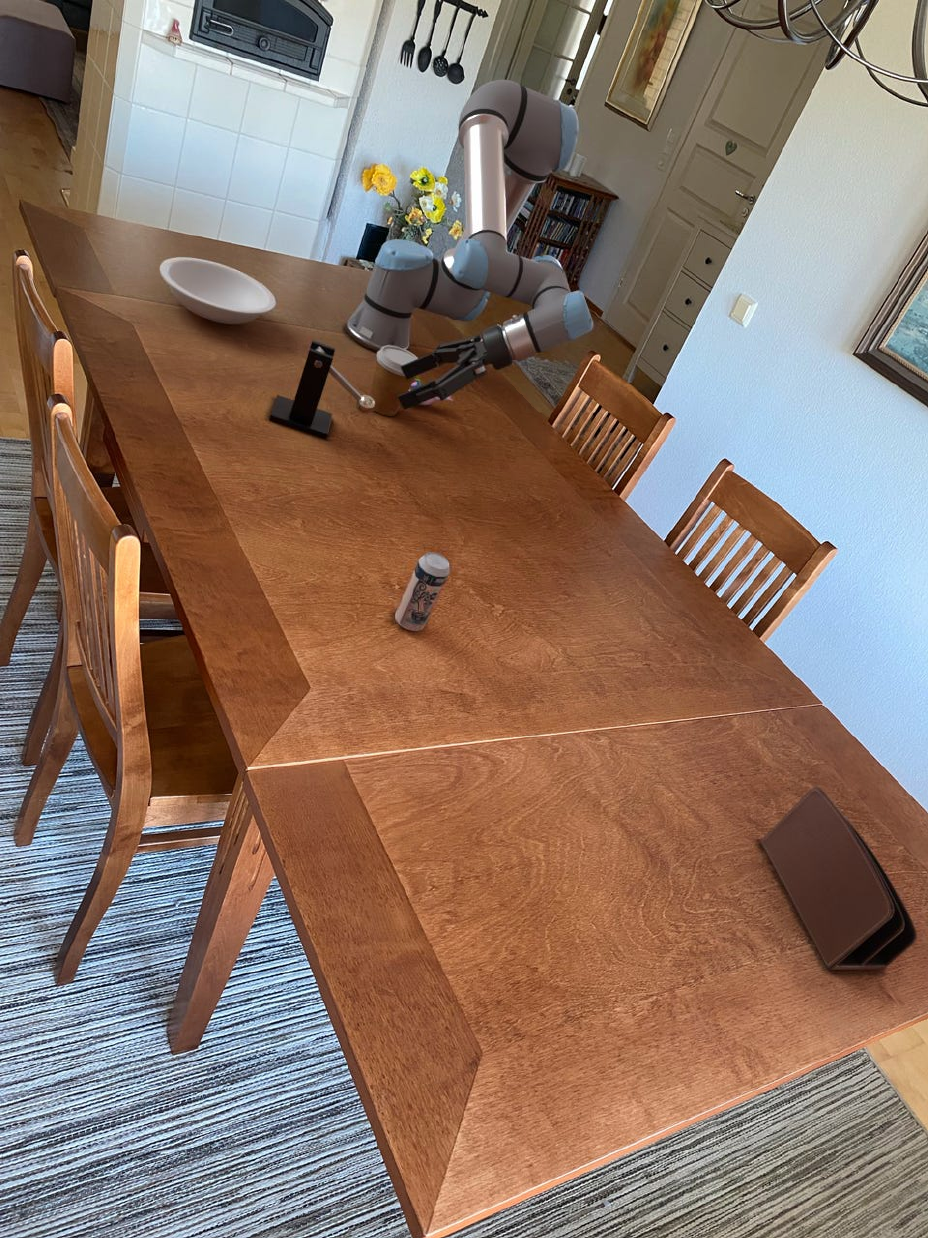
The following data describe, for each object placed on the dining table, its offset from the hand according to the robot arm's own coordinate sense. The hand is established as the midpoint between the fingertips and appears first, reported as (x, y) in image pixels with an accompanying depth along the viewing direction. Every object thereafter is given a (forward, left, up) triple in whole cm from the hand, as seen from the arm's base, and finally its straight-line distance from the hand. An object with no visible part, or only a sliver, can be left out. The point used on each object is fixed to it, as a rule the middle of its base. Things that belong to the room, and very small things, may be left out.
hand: (402, 387), depth 173 cm
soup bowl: (-22, -47, -13) cm, 54 cm away
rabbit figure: (-27, 0, -13) cm, 30 cm away
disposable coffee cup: (-17, -5, -13) cm, 22 cm away
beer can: (+48, +22, -13) cm, 55 cm away
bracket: (+4, -15, -13) cm, 21 cm away
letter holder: (+66, +90, -13) cm, 112 cm away
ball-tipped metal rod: (+3, -11, -5) cm, 12 cm away
